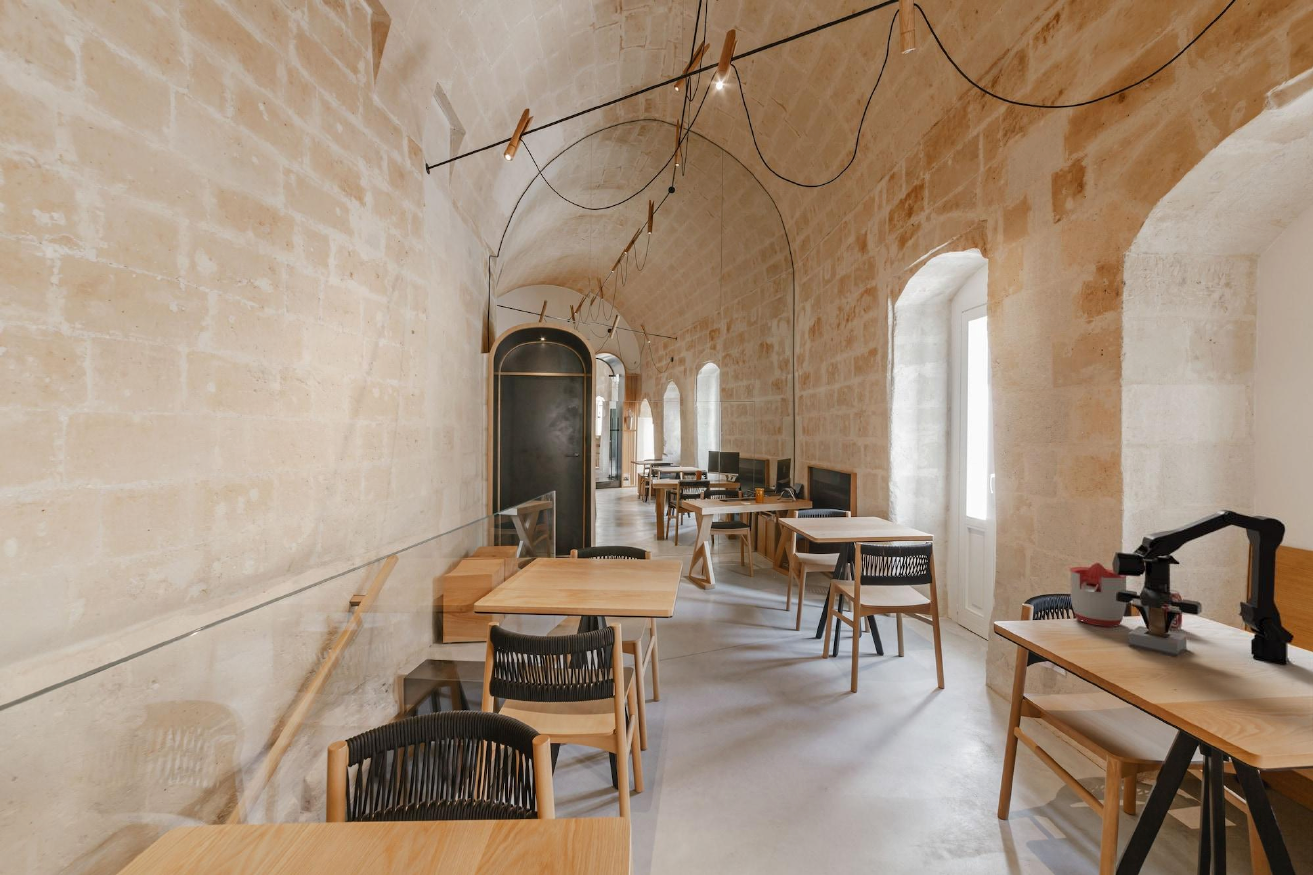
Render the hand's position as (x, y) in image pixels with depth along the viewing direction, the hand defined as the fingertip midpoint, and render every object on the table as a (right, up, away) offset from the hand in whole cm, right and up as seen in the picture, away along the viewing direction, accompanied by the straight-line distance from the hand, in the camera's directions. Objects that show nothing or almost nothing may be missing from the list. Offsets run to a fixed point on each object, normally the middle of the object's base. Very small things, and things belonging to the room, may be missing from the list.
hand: (1157, 630), depth 175 cm
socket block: (0, -5, 0) cm, 5 cm away
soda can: (+19, -5, +19) cm, 28 cm away
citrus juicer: (0, -5, +24) cm, 25 cm away
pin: (0, -3, 0) cm, 3 cm away
